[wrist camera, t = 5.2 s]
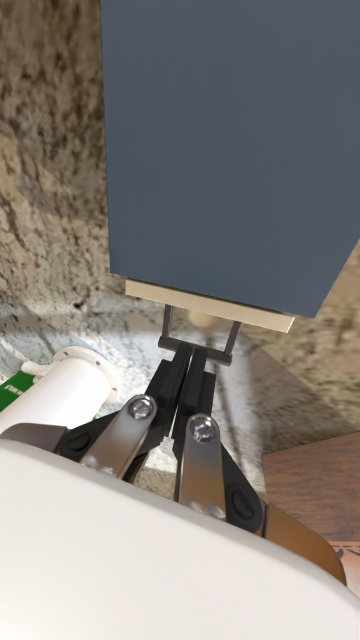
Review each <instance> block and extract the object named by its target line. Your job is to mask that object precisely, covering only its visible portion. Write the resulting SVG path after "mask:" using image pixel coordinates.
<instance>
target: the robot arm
mask: <svg viewBox="0 0 360 640" xmlns="http://www.w3.org/2000/svg"><path fill="white" fill-rule="evenodd" d="M192 348H193V347H191V346H190V344H189V343H185V342H182V341H181V342H180V344H179V347H178V349H177V351H176V353H175V356H174V358H173V360H172V362H171V361H168V360H164V359H162V361H161V363H160V364H159V366H158V368H157V370H156V372H155V374H154V376H153V378H152V380H151V382H150V384H149V386H148V388H147V389H146V391H145V393H144V395H143V394H140V395H136V396H134V397H132V398H131V399H129V400H128V401H127V403H126V404H125V405H124V406H123V408H122V409H121V410H119V411H117V412H114V413H111V414H109V415H106V416H103V417H101V418H98V419H96V420H93V421H91V419H92V418H93V417H94V415H95V414H96V412H97V411H98V410H99V408H100V407H101V406H108V405H110V404H112V403H114V402H115V401H116V400H117V398H118V397H119V395H120V393H121V387H122V386H121V380H120V378H119V375H118V374H117V372H116V370H115V369H114V368H113V366H112V365H111V364H110V363H109V362H108V361H107V360H106V359H105V358H103V357H102V356H101V355H99V354H98V353H96V352H94V351H92V350H90V349H87V348H84V347H79V346H69V347H65V348H63V349H61V350H60V351H59V352H57V353H56V354H55V355H54V357H53V360H52V364H50V365H48V364H45V365H40V364H38V363H35V362H32V361H26V362H25V363H24V364H23V365H22V367H21V371H22V372H24V373H27V374H30V375H35V377H34V379H33V383H35V384H34V385H33V386H32V387H30V388H29V389H28V390H27V391H26V392H24V393H23V394H22V395H21V396H20V397H18V398H17V399H16V400H15V401H14V402H12V403H11V404H10V405H9V406H8V407H6V408H5V409H4V410H3V411H2V412H0V640H360V599H359V598H358V597H357V596H356V595H355V594H354V593H353V592H352V591H351V590H350V589H348V587H347V580H346V575H345V571H344V567H343V564H342V562H341V560H340V558H339V556H338V554H337V552H336V551H335V550H334V548H333V547H332V546H331V545H330V543H329V542H328V541H326V540H325V539H324V538H323V537H322V536H320V535H319V534H317V533H316V532H314V531H313V530H311V529H310V528H308V527H307V526H305V525H304V524H302V523H301V522H299V521H298V520H296V519H294V518H293V517H291V516H290V515H288V514H287V513H285V512H284V511H282V510H281V509H279V508H278V507H276V506H275V505H273V504H272V503H270V502H269V501H268V502H267V503H266V502H264V501H263V500H261V499H260V498H259V497H258V496H257V494H256V492H255V491H254V489H253V488H252V486H251V485H250V483H249V482H248V480H247V479H246V478H245V476H244V475H243V473H242V472H241V470H240V469H239V467H238V466H237V465H236V463H235V462H234V460H233V459H232V457H231V456H230V454H229V453H228V452H227V450H226V449H225V447H224V446H223V444H222V443H221V441H220V430H219V426H218V424H217V423H216V421H215V420H214V419H213V418H212V417H211V413H212V405H213V397H214V389H215V381H216V374H213V373H209V372H206V371H204V368H205V363H206V358H207V354H208V348H204V347H199V349H198V348H195V351H194V354H193V357H192V360H191V364H190V367H189V362H190V357H191V353H192ZM188 367H189V370H188ZM187 371H188V373H187ZM177 407H178V408H177ZM176 410H177V412H176ZM175 413H176V417H175V422H174V427H173V431H172V436H171V439H174V444H173V448H172V451H173V453H174V455H175V457H176V459H177V463H176V473H175V482H174V492H173V501H172V500H170V499H167V498H165V497H162V496H160V495H157V494H155V493H152V492H150V491H147V490H145V489H142V488H140V487H137V486H135V485H134V484H135V482H136V480H137V478H138V476H139V474H140V472H141V470H142V468H143V467H144V465H145V463H146V461H147V459H148V457H149V455H150V453H151V451H152V449H153V448H155V447H157V446H159V445H160V442H162V441H163V438H164V436H166V437H168V435H169V432H170V429H171V426H172V423H173V419H174V416H175Z"/></svg>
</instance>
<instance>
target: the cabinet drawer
mask: <svg viewBox="0 0 360 640" xmlns="http://www.w3.org/2000/svg"><path fill="white" fill-rule="evenodd" d="M125 293H126V294H127V295H131V296H135V297H139V298H143V299H148V300H152V301H156V302H160V303H164V304H166V305H165V314H164V322H163V331H162V335H161V337H160V339H159V342H158V347H160V348H164V349H167V350H171V351H175V352H176V351H177V349H178V347H179V344H180V342H181V341H182V340H178V339H174V338H170V337H169V333H170V326H171V319H172V312H173V306H177V307H181V308H185V309H189V310H194V311H198V312H202V313H206V314H210V315H215V316H219V317H223V318H227V319H231V320H234V323H233V326H232V329H231V332H230V335H229V338H228V341H227V344H226V347H225V350H224V352H223V351H220V350H216V349H212V348H208V347H204V346H201V345H197V344H193V343H189V342H185V341H182V342H185V343H189V344H190V346H191V347H193V348H192V353H191V356H193V354H194V351H195V348H198V349H199V347H204V348H208V354H207V358H206V360H207V361H211V362H215V363H218V364H222V365H226V366H230V365H231V362H232V354H231V353H232V350H233V348H234V345H235V342H236V339H237V336H238V333H239V330H240V328H241V325H242V322H244V323H248V324H252V325H256V326H261V327H265V328H269V329H273V330H277V331H282V332H286V333H287V332H288V330H289V328H290V326H291V324H292V322H293V320H294V316H293V314H291V313H287V312H282V311H278V310H273V309H269V308H264V307H260V306H255V305H251V304H247V303H242V302H238V301H233V300H229V299H224V298H220V297H215V296H211V295H206V294H202V293H198V292H193V291H189V290H184V289H180V288H175V287H171V286H166V285H162V284H157V283H153V282H149V281H144V280H140V279H135V278H131V277H128V278H127V279H126V280H125Z"/></svg>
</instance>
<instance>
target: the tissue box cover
mask: <svg viewBox="0 0 360 640" xmlns="http://www.w3.org/2000/svg"><path fill="white" fill-rule="evenodd" d="M262 461H263V469H264V478H265V486H266V494H267V502H268V501H269V502H270V503H272V504H273V505H275V506H276V507H278V508H279V509H281V510H282V511H284V512H285V513H287V514H288V515H290V516H291V517H293V518H294V519H296V520H298V521H299V522H301V523H302V524H304V525H305V526H307V527H308V528H310V529H311V530H313V531H314V532H316V533H317V534H319V535H320V536H322V537H323V538H324V539H325V540H326V541H328V542H329V543H330V545H331V546H332V547H333V548H334V550H335V551H336V552H337V554H338V556H339V558H340V560H341V562H342V564H343V567H344V571H345V575H346V580H347V587H348V589H350V590H351V591H352V592H353V593H354V594H355V595H356V596H357V597H358V598H359V599H360V432H355V433H351V434H347V435H343V436H339V437H334V438H330V439H326V440H322V441H317V442H313V443H309V444H305V445H300V446H296V447H292V448H288V449H284V450H279V451H275V452H271V453H267V454H263V455H262Z"/></svg>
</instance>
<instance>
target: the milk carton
mask: <svg viewBox="0 0 360 640" xmlns="http://www.w3.org/2000/svg"><path fill="white" fill-rule="evenodd" d="M34 377H35V375H30V374H27V373H24V372H22V371H20V372H18V373H17V374H16V375H14V376H13V377H11V378H10V379H9V380H7V381H6V382H5V383H3V384H2V385H0V412H2V411H3V410H4V409H5V408H6V407H8V406H9V405H10V404H11V403H12V402H14V401H15V400H16V399H17V398H18V397H20V396H21V395H22V394H23V393H24V392H26V391H27V390H28V389H29V388H30V387H32V386H33V385H34V384H35V383H33V379H34Z"/></svg>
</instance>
